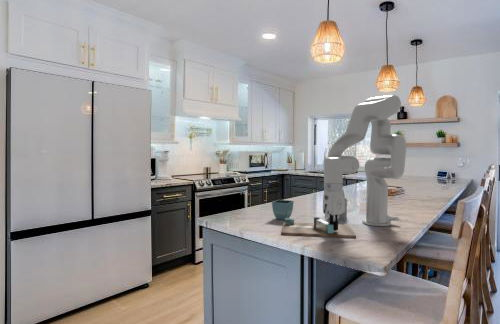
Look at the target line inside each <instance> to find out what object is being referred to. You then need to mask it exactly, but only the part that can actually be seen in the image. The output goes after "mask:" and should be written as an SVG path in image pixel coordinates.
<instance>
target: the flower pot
mask: <svg viewBox="0 0 500 324" xmlns="http://www.w3.org/2000/svg"><path fill="white" fill-rule="evenodd" d="M271 207H272V212H273V216H274V218H276V220H284V221H285V218H290V217H291V215H292V213H293V209H294V200H285V199H277V200H274V201H271Z"/></svg>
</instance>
